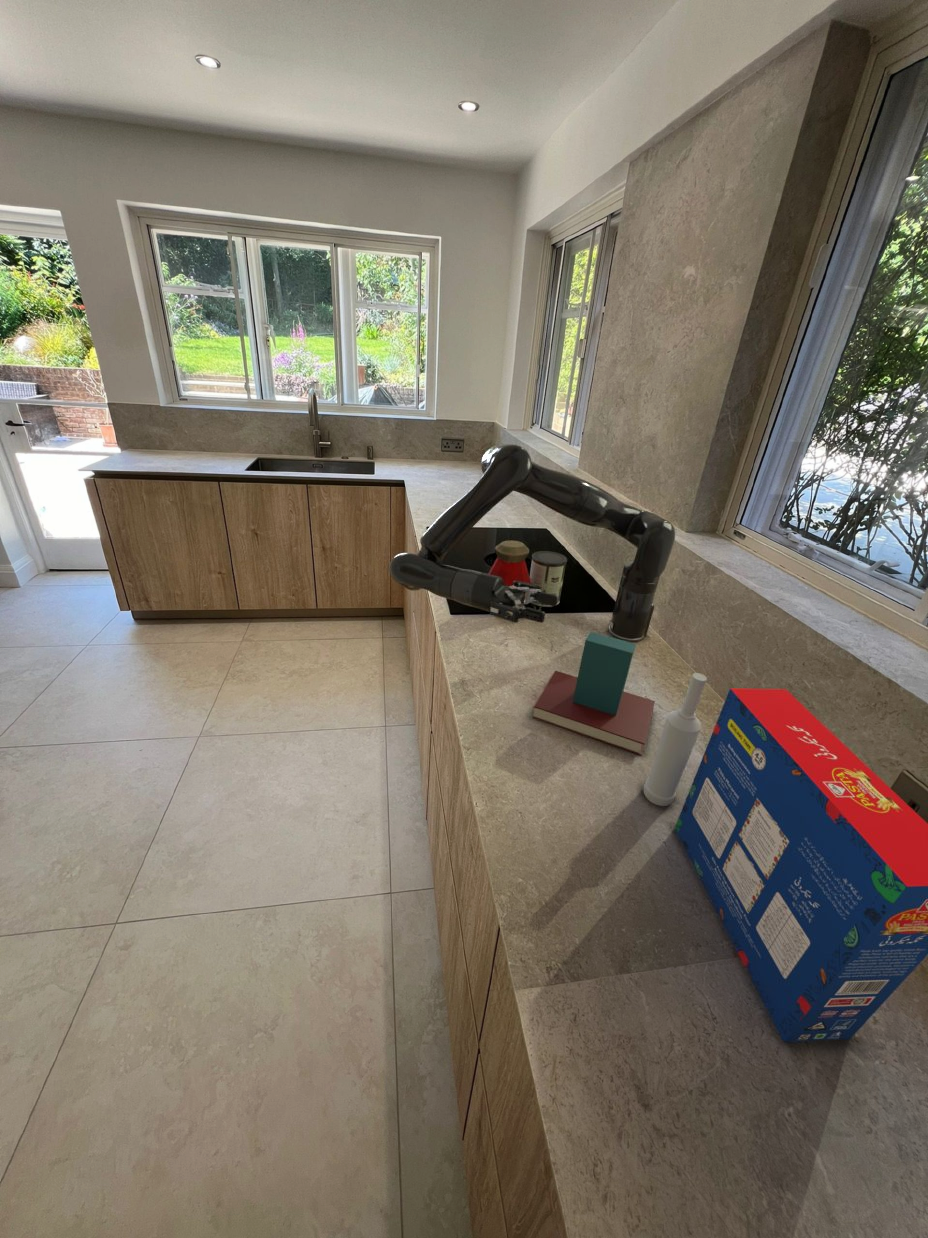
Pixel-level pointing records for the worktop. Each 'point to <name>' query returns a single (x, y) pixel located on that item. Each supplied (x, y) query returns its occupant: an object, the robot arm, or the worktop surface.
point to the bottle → (675, 746)
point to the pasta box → (806, 865)
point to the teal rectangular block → (603, 672)
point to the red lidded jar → (511, 563)
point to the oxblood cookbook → (595, 715)
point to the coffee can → (548, 573)
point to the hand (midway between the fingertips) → (550, 609)
